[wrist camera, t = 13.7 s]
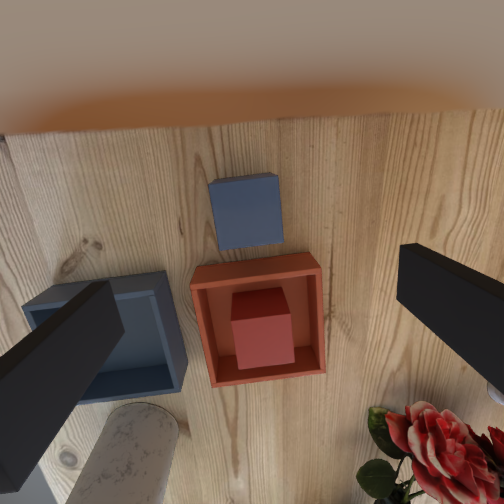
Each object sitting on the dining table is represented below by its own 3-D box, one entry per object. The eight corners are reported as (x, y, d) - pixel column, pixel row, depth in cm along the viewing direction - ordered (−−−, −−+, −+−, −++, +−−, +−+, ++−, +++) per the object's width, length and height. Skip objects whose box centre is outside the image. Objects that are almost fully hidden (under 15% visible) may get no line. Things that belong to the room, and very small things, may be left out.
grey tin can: (91, 434, 36) (20, 565, 24) (132, 390, 34) (76, 510, 22) (151, 465, 38) (113, 597, 27) (193, 425, 36) (171, 551, 25)
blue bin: (52, 285, 29) (20, 306, 25) (166, 270, 29) (153, 289, 25) (88, 375, 33) (66, 407, 29) (188, 362, 33) (180, 392, 29)
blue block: (214, 179, 26) (207, 184, 21) (270, 172, 26) (278, 175, 21) (223, 234, 28) (219, 251, 23) (275, 227, 28) (284, 242, 23)
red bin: (196, 266, 29) (189, 284, 25) (309, 251, 29) (321, 267, 25) (215, 358, 33) (211, 388, 29) (314, 345, 33) (326, 373, 29)
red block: (232, 292, 30) (230, 321, 24) (281, 286, 30) (291, 313, 24) (238, 335, 31) (238, 369, 26) (285, 329, 31) (294, 362, 26)
